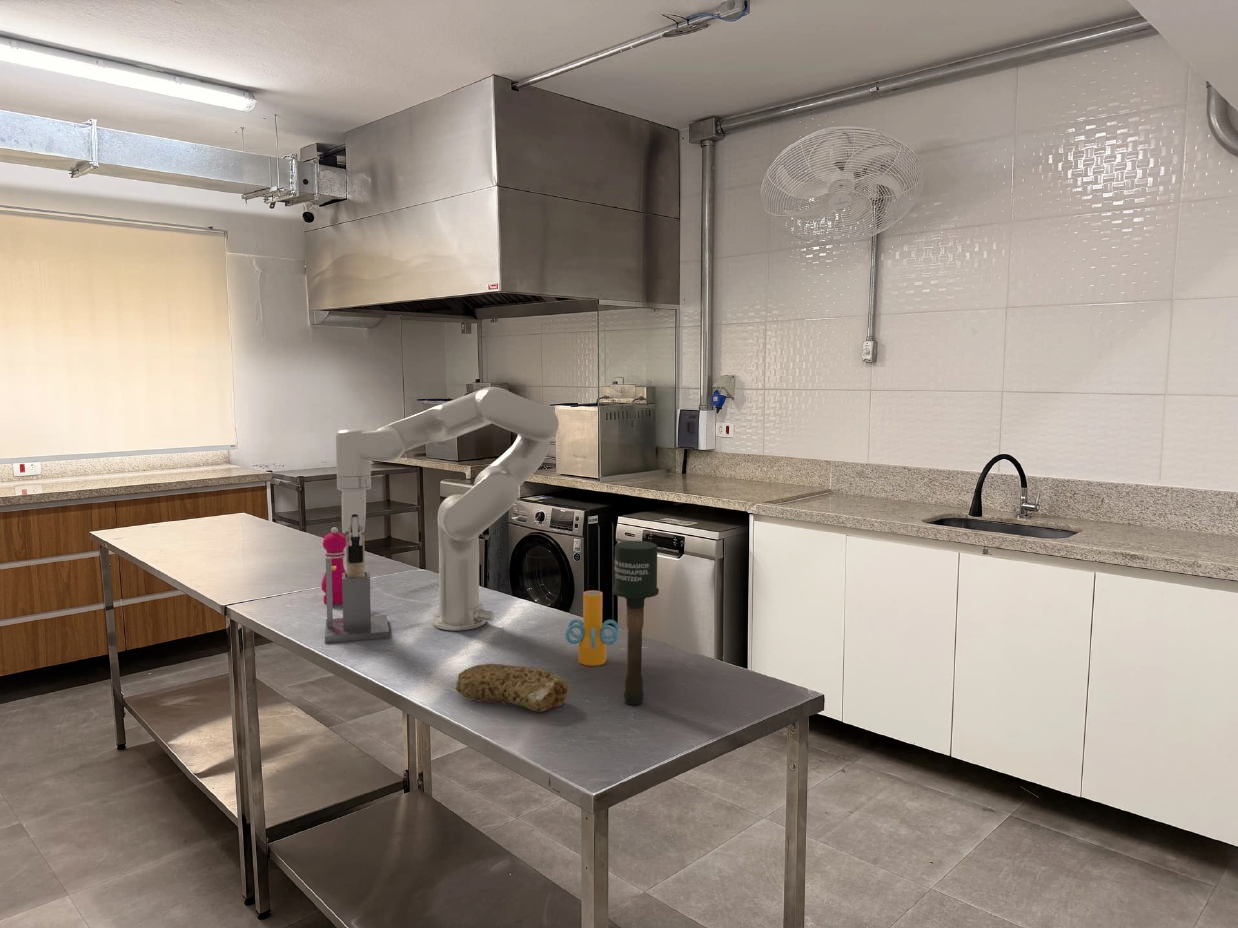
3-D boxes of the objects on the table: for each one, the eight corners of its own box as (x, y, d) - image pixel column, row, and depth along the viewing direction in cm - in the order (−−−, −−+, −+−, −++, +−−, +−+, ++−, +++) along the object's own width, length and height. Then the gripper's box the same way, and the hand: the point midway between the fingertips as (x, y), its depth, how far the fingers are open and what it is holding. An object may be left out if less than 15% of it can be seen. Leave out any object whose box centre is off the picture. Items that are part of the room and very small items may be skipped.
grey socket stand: (386, 620, 204) (385, 548, 202) (389, 637, 190) (388, 561, 188) (326, 625, 199) (324, 551, 197) (324, 643, 186) (322, 564, 184)
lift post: (365, 617, 197) (364, 534, 195) (366, 622, 193) (364, 537, 191) (347, 618, 196) (345, 535, 194) (347, 623, 192) (345, 538, 190)
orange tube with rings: (629, 659, 178) (630, 591, 176) (604, 674, 169) (604, 602, 167) (581, 649, 184) (582, 583, 182) (554, 663, 175) (555, 594, 173)
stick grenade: (601, 701, 154) (603, 544, 151) (633, 690, 160) (636, 538, 157) (633, 715, 148) (636, 551, 145) (666, 702, 154) (669, 544, 151)
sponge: (572, 707, 155) (494, 665, 165) (575, 672, 152) (495, 631, 163) (526, 743, 145) (445, 696, 155) (528, 707, 142) (446, 661, 152)
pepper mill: (354, 598, 223) (353, 525, 221) (343, 605, 216) (341, 530, 214) (329, 597, 224) (327, 524, 222) (316, 604, 217) (314, 529, 215)
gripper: (337, 478, 198) (339, 553, 200) (336, 488, 182) (338, 569, 184) (370, 478, 200) (371, 552, 202) (371, 487, 184) (373, 567, 186)
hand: (355, 559), depth 193 cm, fingers closed on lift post, 4 cm apart
